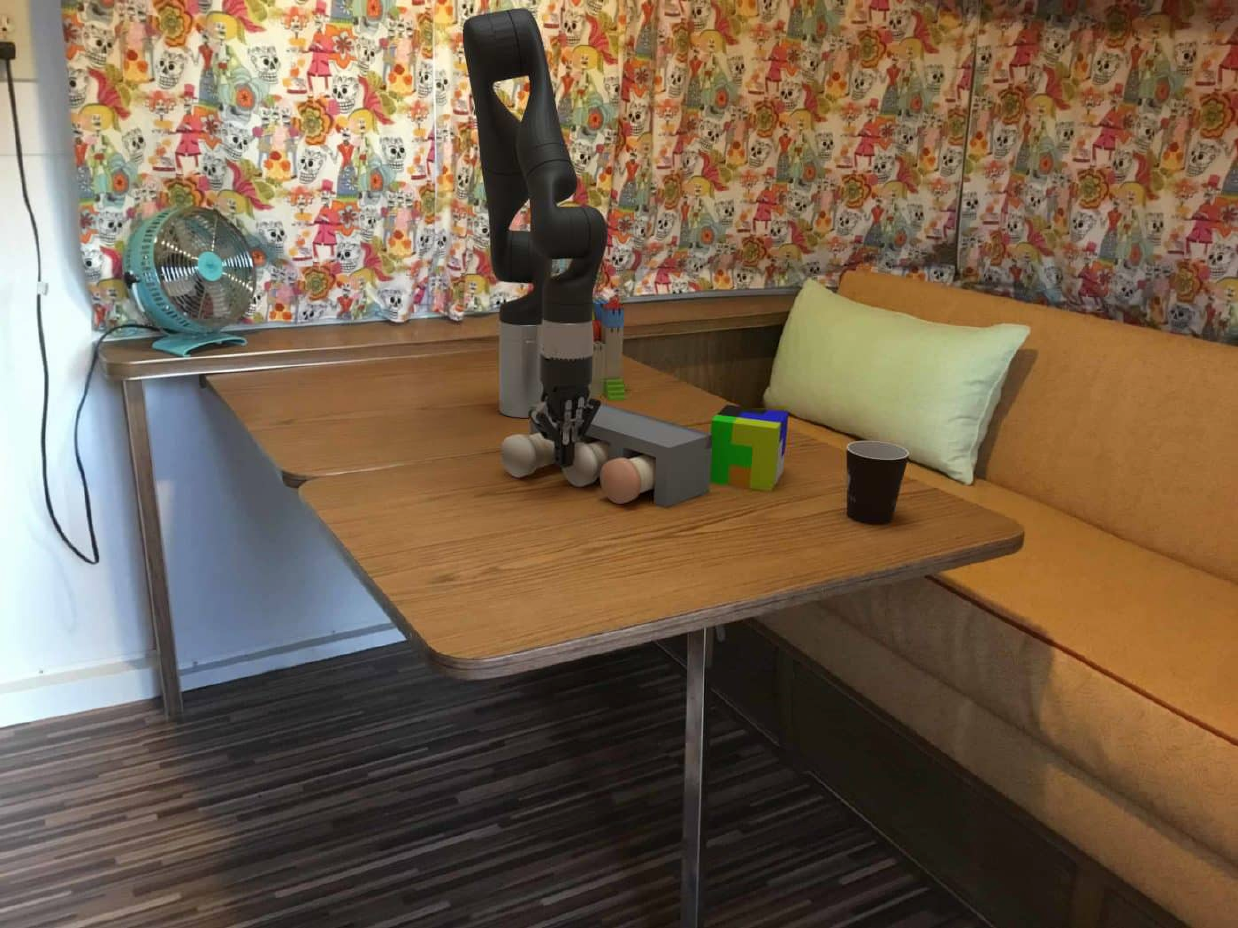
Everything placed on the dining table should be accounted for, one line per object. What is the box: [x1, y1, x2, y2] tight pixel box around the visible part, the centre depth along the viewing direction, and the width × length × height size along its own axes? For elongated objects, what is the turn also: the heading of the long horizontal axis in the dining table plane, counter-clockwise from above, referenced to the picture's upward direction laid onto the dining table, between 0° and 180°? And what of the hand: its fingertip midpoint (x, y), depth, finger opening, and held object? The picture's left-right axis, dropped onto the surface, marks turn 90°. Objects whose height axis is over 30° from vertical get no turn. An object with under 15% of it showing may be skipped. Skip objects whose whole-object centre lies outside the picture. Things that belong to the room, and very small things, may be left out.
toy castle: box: [588, 296, 632, 402], centre depth 211 cm, size 28×14×19 cm, turn 20°
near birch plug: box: [500, 430, 561, 478], centre depth 159 cm, size 10×6×6 cm, turn 137°
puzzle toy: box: [710, 404, 790, 492], centre depth 160 cm, size 10×10×10 cm
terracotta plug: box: [599, 454, 656, 505], centre depth 150 cm, size 10×6×6 cm, turn 137°
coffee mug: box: [846, 440, 910, 526], centre depth 146 cm, size 12×9×10 cm
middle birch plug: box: [561, 440, 611, 487], centre depth 156 cm, size 10×6×6 cm, turn 137°
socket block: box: [529, 402, 713, 508], centre depth 158 cm, size 10×29×9 cm, turn 47°
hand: (564, 465), depth 151 cm, fingers closed
